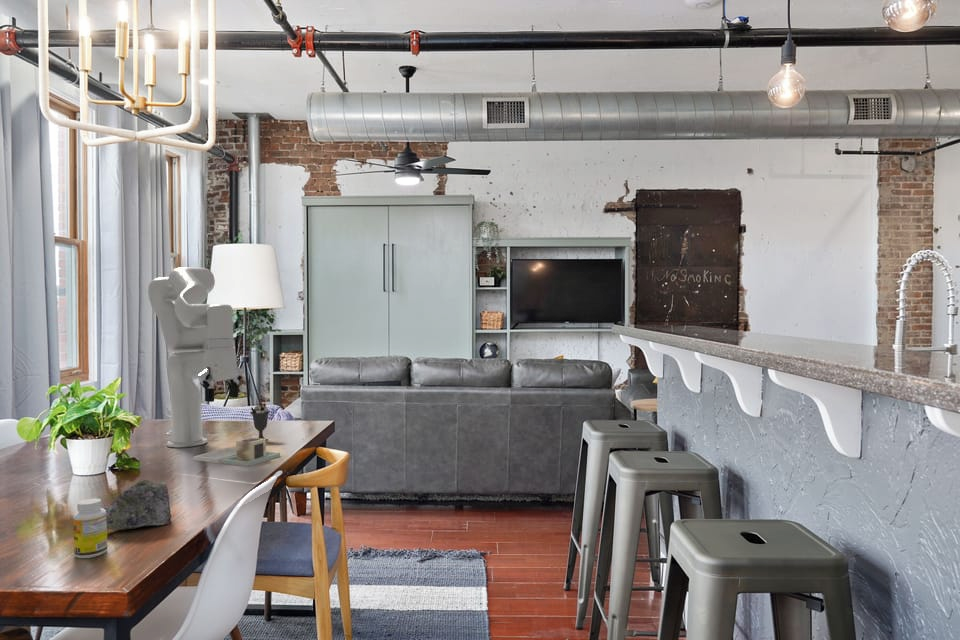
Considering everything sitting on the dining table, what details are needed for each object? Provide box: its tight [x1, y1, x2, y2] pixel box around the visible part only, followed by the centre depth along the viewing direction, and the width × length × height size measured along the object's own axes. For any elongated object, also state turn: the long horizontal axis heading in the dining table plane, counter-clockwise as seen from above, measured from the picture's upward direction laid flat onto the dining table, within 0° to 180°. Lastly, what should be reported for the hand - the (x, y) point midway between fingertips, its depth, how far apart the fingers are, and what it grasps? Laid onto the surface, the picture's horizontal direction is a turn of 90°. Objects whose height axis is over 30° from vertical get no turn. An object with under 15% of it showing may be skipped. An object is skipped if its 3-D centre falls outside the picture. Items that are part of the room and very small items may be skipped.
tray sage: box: [221, 450, 281, 467], centre depth 206 cm, size 10×14×2 cm
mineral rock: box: [102, 479, 172, 531], centre depth 146 cm, size 13×11×10 cm
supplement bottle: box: [72, 498, 108, 559], centre depth 130 cm, size 6×6×10 cm
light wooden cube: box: [235, 437, 267, 462], centre depth 206 cm, size 6×6×6 cm
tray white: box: [193, 446, 237, 464], centre depth 211 cm, size 10×14×2 cm
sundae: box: [250, 397, 271, 442], centre depth 237 cm, size 7×7×15 cm
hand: (221, 399), depth 210 cm, fingers open, 9 cm apart
